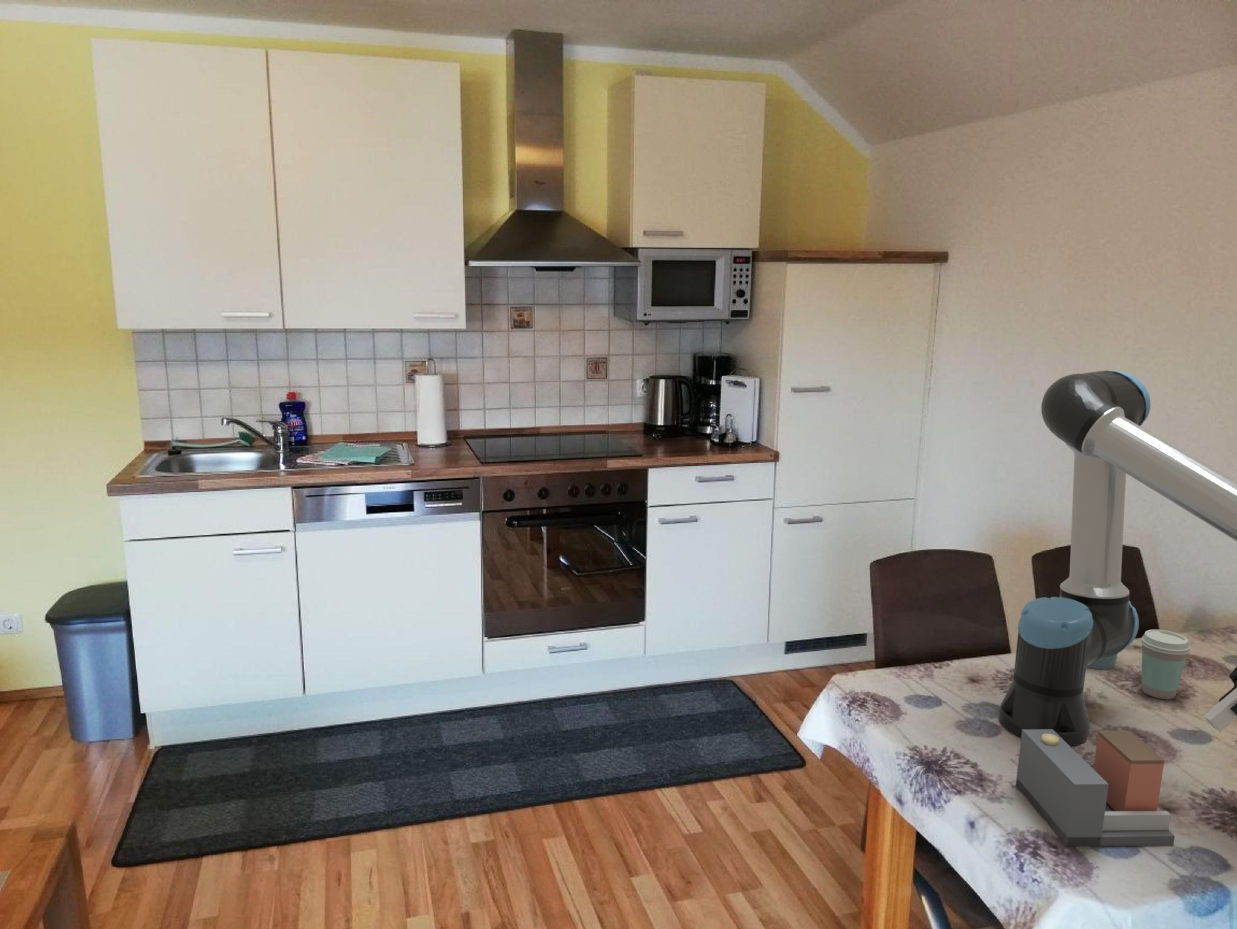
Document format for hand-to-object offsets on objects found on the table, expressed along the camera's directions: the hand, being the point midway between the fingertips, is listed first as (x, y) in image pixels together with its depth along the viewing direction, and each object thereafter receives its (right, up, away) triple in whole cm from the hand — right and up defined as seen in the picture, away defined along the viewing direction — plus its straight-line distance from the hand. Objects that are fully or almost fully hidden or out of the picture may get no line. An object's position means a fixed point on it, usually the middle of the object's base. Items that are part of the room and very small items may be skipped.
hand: (1211, 723), depth 138 cm
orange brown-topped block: (-12, -13, +3) cm, 18 cm away
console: (-17, -15, +3) cm, 23 cm away
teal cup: (+13, -4, +59) cm, 60 cm away
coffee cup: (+18, -7, +44) cm, 48 cm away
